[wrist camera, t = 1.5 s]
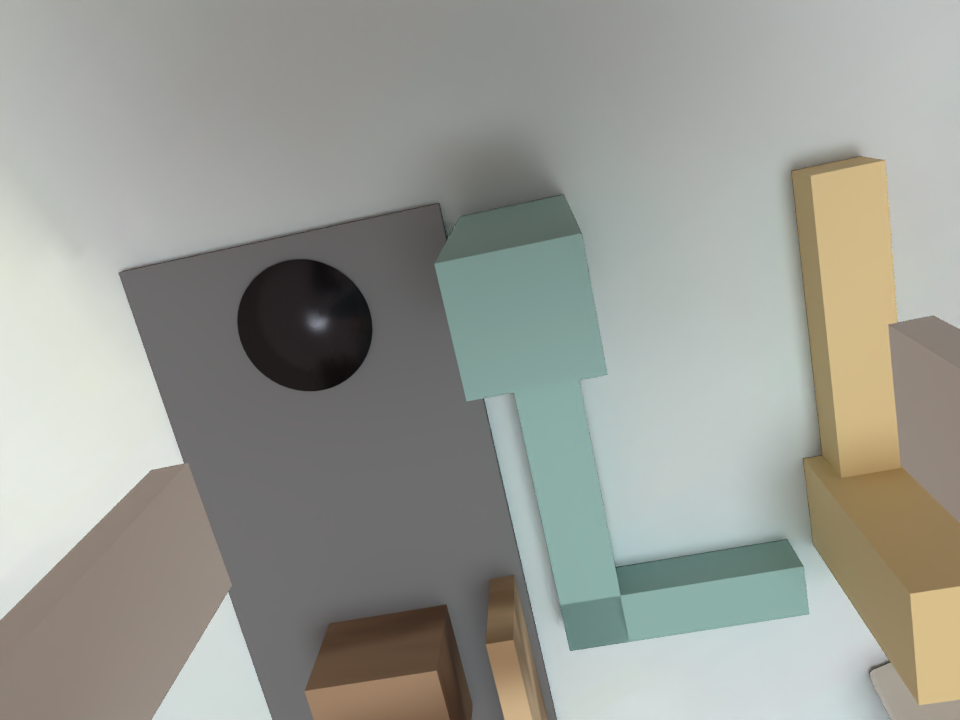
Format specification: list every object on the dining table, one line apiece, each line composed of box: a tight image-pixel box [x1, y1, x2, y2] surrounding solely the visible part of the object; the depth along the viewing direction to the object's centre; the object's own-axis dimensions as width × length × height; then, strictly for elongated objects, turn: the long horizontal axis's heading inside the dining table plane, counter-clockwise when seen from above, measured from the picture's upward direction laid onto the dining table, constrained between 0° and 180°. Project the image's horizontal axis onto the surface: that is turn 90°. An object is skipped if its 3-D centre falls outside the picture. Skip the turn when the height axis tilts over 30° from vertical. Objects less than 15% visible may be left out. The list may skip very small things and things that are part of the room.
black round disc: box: [237, 259, 373, 391], centre depth 37 cm, size 6×6×1 cm
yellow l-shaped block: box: [791, 156, 960, 705], centre depth 31 cm, size 18×4×11 cm, turn 12°
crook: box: [434, 195, 809, 651], centre depth 33 cm, size 20×12×11 cm, turn 12°
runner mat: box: [119, 203, 557, 720], centre depth 41 cm, size 34×14×1 cm, turn 12°
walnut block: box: [305, 604, 473, 720], centre depth 40 cm, size 6×6×5 cm
